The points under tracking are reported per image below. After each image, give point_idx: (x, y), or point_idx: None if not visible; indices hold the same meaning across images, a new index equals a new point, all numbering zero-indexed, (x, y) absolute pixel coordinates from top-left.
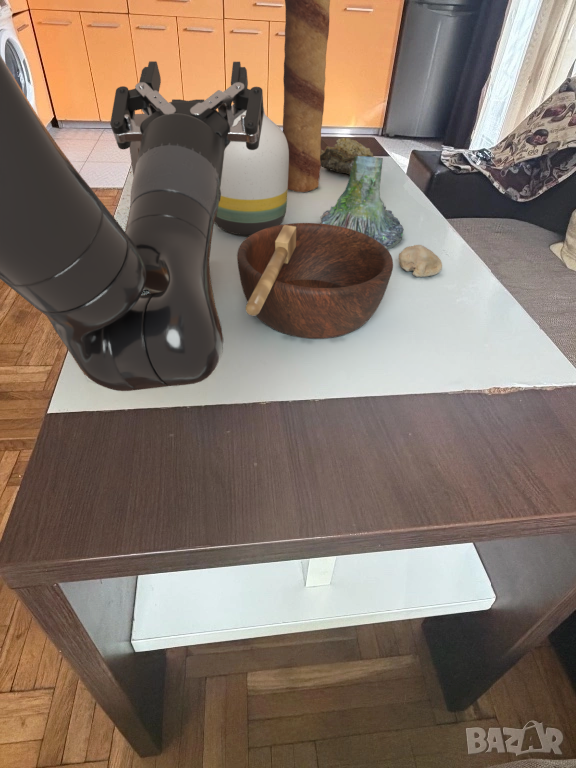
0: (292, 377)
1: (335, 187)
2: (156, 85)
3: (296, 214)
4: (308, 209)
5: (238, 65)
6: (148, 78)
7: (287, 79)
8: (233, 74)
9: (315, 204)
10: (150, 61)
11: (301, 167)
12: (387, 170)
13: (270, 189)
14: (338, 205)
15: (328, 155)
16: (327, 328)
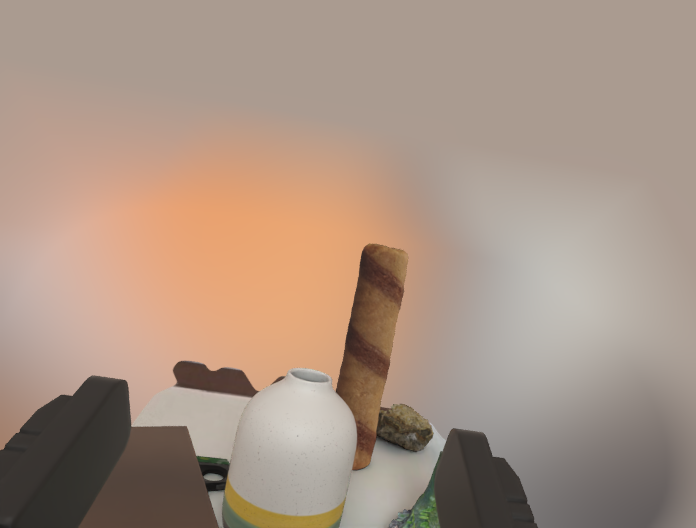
0: None
1: (390, 465)
2: (78, 491)
3: (347, 515)
4: (362, 505)
5: (488, 456)
6: (17, 486)
7: (351, 340)
8: (486, 515)
9: (370, 496)
10: (96, 377)
11: None
12: (442, 443)
13: (326, 500)
14: (415, 521)
15: (381, 421)
16: None
